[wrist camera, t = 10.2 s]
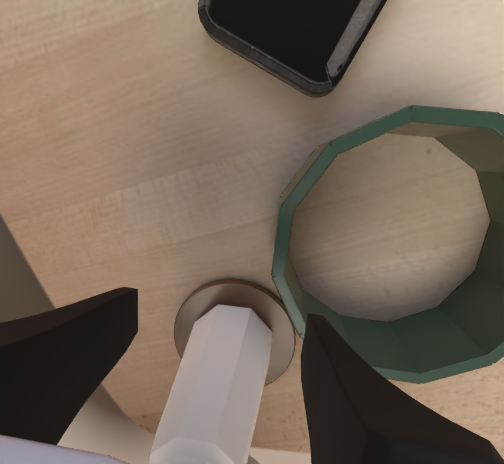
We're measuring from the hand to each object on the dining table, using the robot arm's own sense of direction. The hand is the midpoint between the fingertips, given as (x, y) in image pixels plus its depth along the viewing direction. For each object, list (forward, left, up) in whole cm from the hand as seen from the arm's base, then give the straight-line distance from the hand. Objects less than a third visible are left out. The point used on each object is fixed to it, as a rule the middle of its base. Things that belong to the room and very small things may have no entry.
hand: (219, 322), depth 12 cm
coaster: (-5, 0, -6) cm, 8 cm away
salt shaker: (-5, 0, -6) cm, 8 cm away
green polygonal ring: (+3, -8, -6) cm, 11 cm away
